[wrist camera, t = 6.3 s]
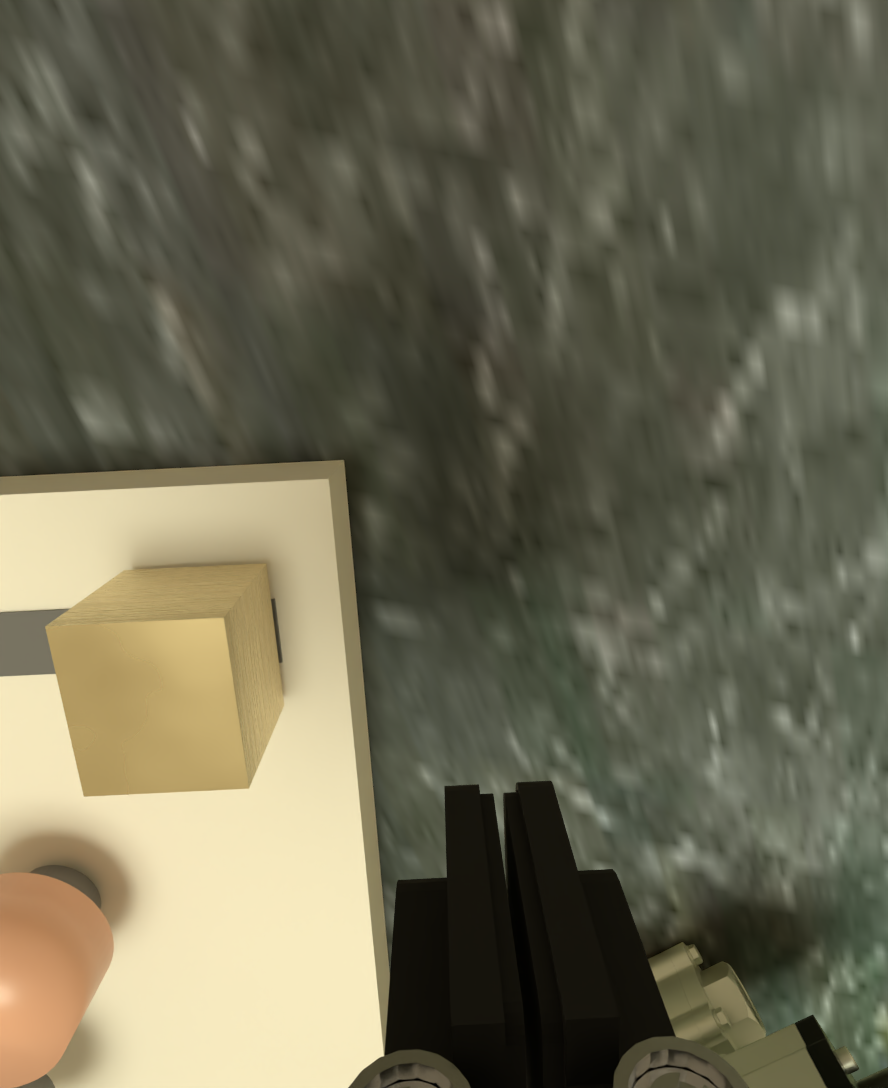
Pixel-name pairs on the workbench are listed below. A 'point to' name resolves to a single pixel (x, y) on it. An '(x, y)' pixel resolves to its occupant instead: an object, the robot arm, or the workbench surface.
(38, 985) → the terracotta button
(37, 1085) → the grey button
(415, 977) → the robot arm
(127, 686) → the brass slider
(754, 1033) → the pneumatic valve
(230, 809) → the control panel
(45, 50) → the workbench surface
